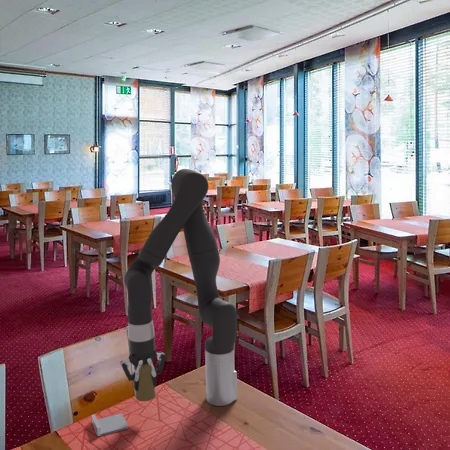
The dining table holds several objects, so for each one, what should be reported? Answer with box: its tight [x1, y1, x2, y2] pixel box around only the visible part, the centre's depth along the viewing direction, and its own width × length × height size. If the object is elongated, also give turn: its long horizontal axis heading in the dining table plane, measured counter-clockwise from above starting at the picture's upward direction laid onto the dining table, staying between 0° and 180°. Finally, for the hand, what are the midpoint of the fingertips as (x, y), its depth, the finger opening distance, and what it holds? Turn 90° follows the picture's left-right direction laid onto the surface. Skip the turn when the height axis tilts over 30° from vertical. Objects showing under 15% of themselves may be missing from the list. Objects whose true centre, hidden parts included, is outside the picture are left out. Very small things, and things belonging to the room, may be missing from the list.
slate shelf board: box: [97, 413, 129, 437], centre depth 149 cm, size 8×8×1 cm
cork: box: [135, 363, 157, 402], centre depth 150 cm, size 6×6×11 cm
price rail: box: [91, 413, 101, 437], centre depth 147 cm, size 1×8×2 cm, turn 25°
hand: (145, 388), depth 151 cm, fingers closed on cork, 4 cm apart
